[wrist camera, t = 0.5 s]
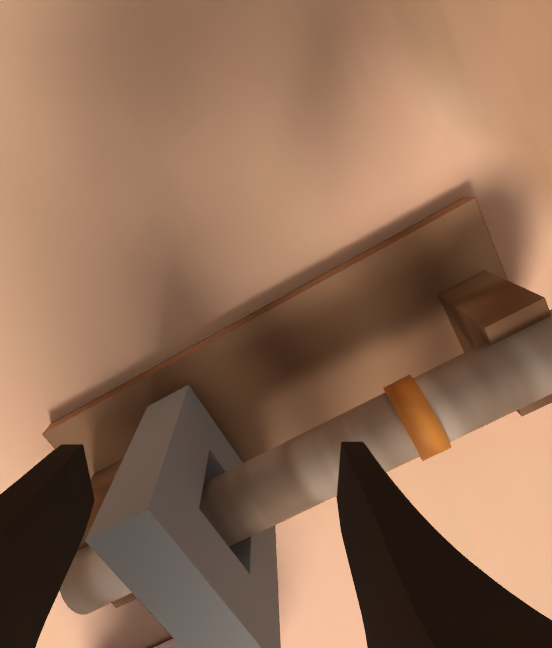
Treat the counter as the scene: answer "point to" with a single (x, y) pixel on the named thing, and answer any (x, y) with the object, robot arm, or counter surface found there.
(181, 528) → the collar
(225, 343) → the pipe stand
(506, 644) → the robot arm
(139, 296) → the counter surface
